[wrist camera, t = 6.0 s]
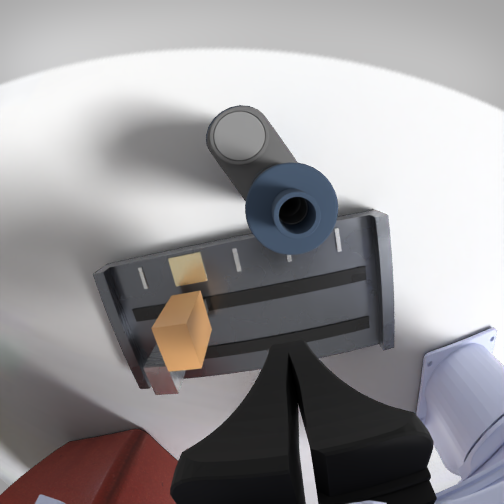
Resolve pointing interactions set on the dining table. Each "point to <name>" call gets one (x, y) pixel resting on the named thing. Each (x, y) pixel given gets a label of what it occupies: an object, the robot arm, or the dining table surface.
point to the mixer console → (257, 299)
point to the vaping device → (272, 182)
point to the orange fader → (183, 331)
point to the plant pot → (100, 473)
